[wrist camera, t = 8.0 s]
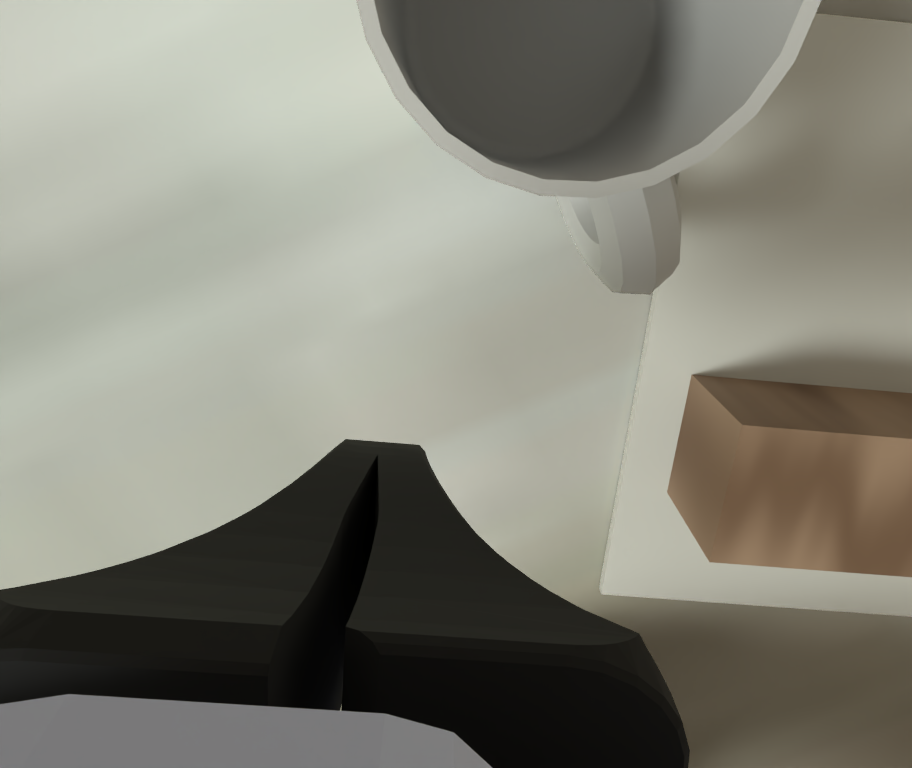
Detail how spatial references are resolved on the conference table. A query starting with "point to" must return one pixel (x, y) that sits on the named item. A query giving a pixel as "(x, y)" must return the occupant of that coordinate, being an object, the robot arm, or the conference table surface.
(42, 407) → the conference table surface
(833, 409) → the walnut block
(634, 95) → the cup
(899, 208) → the mat
